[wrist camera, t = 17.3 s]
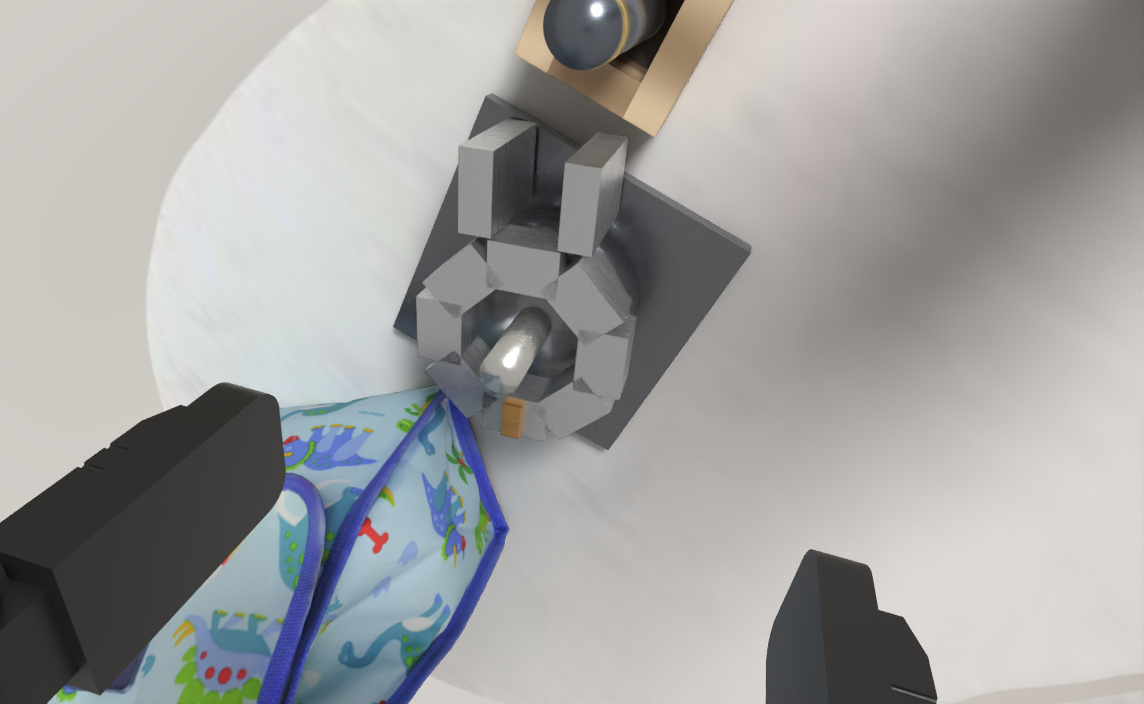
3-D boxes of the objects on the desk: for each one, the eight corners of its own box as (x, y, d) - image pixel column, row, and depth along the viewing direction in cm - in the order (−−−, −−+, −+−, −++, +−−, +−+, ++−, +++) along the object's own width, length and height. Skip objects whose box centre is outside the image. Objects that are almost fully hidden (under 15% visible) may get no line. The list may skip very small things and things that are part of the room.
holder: (607, -115, 30) (587, -126, 27) (750, -29, 30) (748, -29, 27) (539, 45, 34) (514, 53, 31) (665, 120, 34) (654, 137, 31)
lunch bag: (450, 339, 44) (134, 705, 22) (525, 533, 51) (341, 961, 29) (196, 376, 52) (-229, 679, 30) (291, 541, 58) (4, 886, 36)
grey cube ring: (672, 143, 33) (651, 179, 28) (631, 392, 41) (608, 462, 35) (466, 112, 35) (406, 140, 29) (463, 356, 43) (415, 417, 37)
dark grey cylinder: (673, -18, 31) (628, -14, 21) (662, 45, 33) (615, 78, 23) (616, -26, 32) (545, -25, 22) (608, 37, 33) (538, 65, 23)
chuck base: (492, 93, 36) (401, 133, 27) (751, 246, 36) (746, 334, 27) (400, 320, 44) (308, 407, 35) (611, 441, 45) (572, 557, 36)
